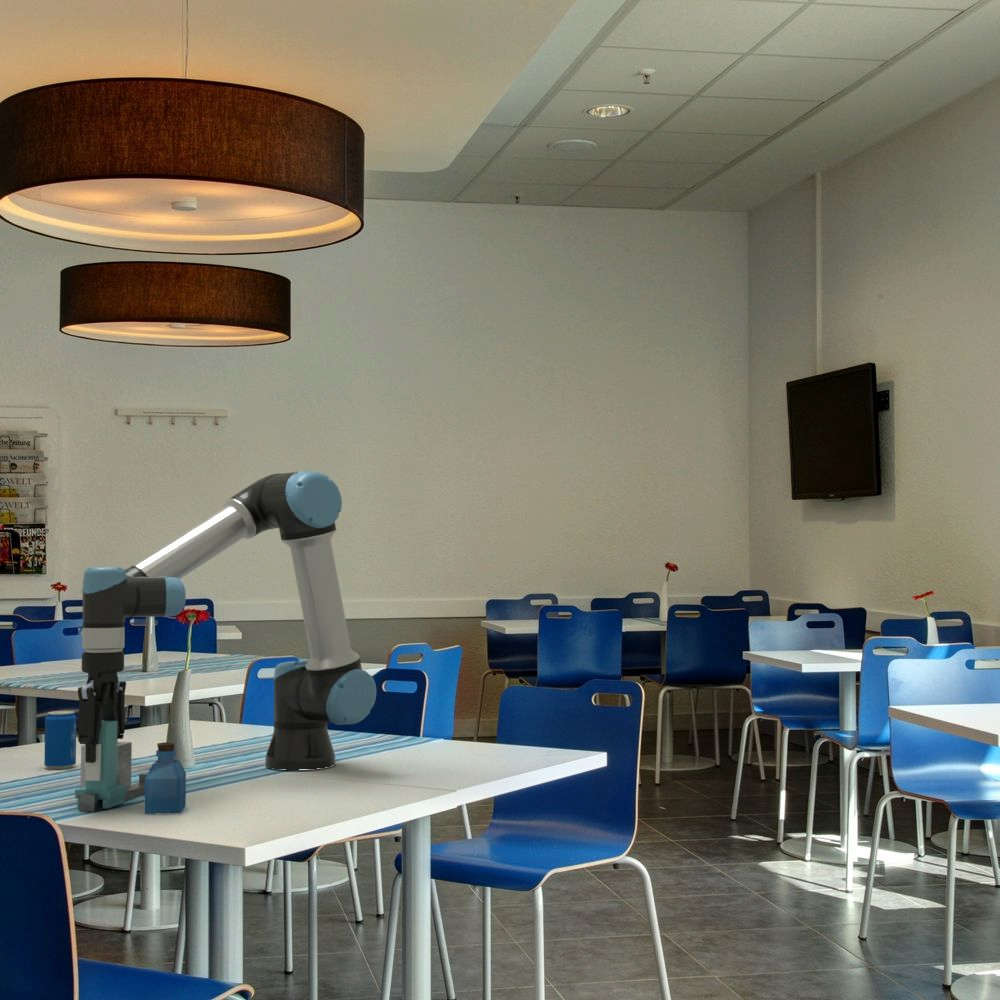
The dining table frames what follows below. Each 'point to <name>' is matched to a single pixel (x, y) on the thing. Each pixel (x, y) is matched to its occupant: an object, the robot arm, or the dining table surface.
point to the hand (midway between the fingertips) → (101, 777)
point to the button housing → (122, 764)
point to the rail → (94, 803)
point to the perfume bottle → (165, 783)
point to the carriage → (106, 769)
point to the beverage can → (60, 740)
